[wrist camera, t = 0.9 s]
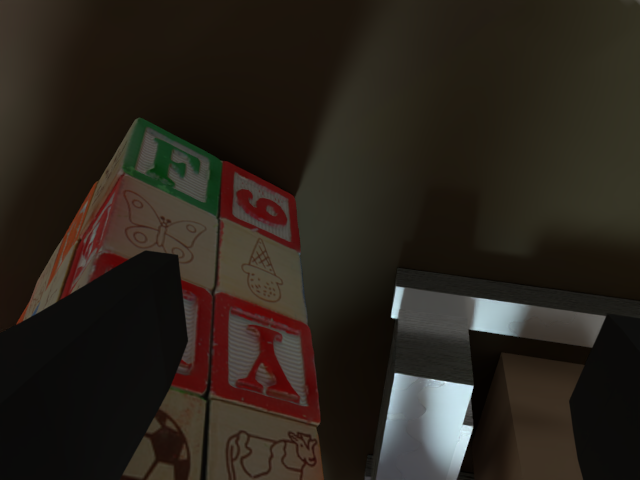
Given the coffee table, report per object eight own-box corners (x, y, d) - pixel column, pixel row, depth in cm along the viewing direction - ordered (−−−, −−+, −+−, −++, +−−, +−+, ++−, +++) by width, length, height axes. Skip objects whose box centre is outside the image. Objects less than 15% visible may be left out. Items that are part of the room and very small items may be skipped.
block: (559, 459, 25) (593, 601, 20) (471, 444, 25) (482, 578, 20) (602, 366, 21) (657, 507, 16) (501, 351, 22) (523, 483, 17)
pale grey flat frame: (762, 545, 25) (821, 657, 22) (364, 472, 27) (354, 563, 24) (951, 344, 18) (1087, 457, 15) (397, 267, 20) (390, 349, 17)
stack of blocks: (81, 440, 30) (14, 732, 22) (-41, 416, 27) (-177, 742, 19) (299, 193, 20) (341, 576, 11) (135, 108, 17) (7, 541, 8)
